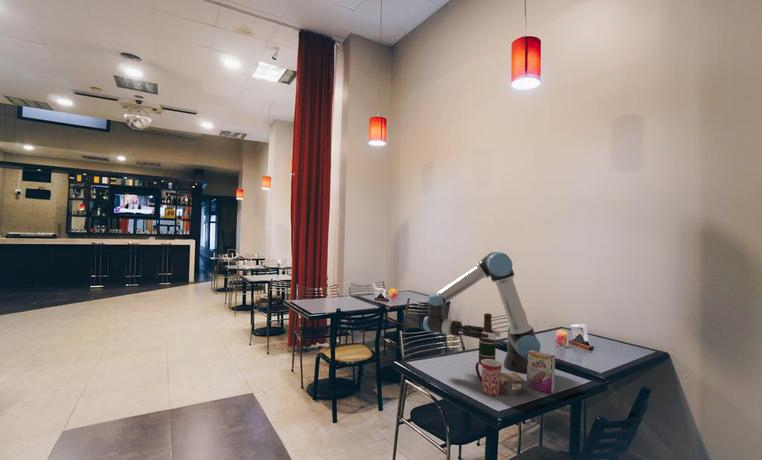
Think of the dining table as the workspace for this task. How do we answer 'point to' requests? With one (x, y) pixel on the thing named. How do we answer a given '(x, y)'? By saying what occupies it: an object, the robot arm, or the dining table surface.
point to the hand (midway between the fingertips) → (497, 335)
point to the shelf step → (514, 385)
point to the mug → (490, 376)
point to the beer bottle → (487, 341)
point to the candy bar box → (541, 370)
